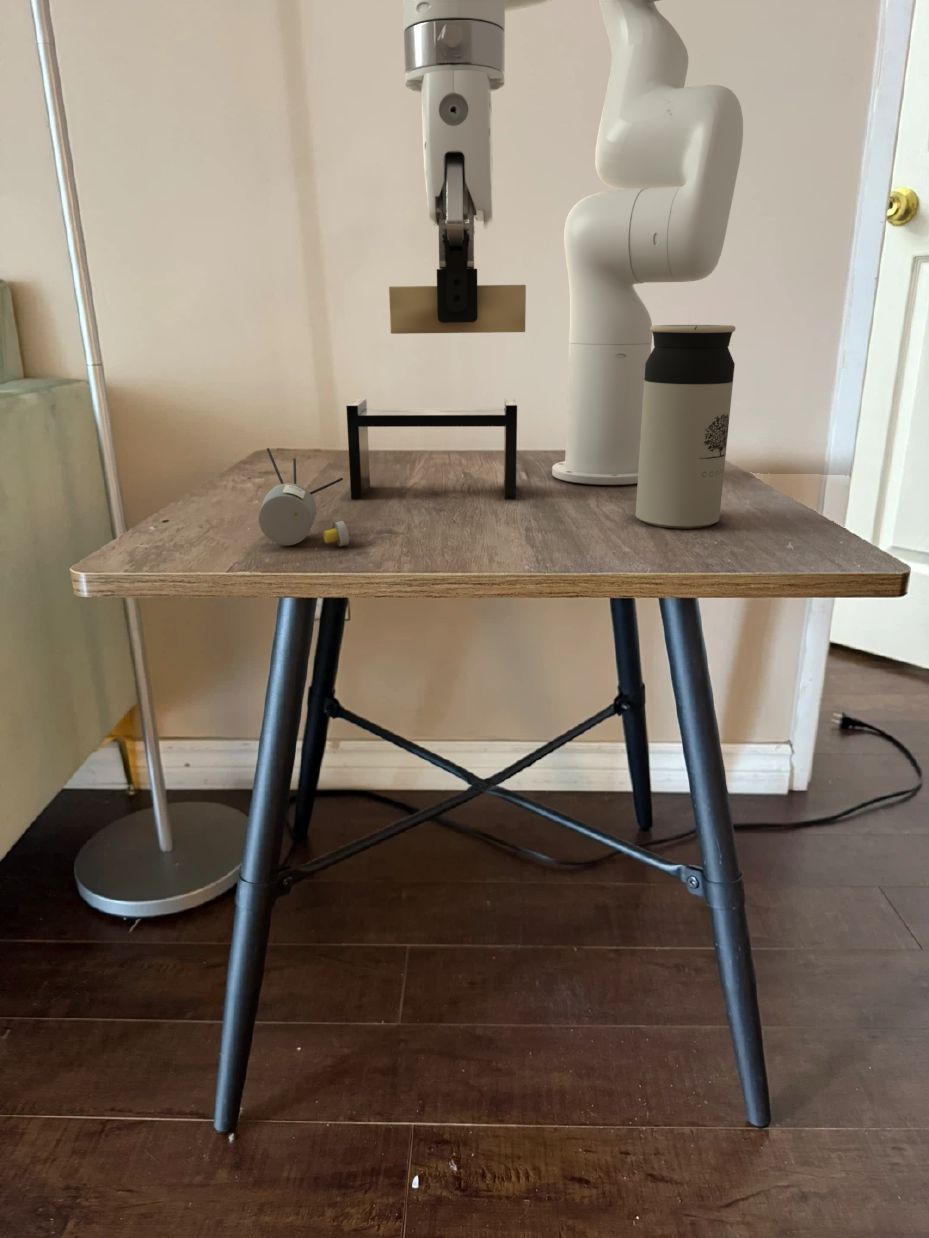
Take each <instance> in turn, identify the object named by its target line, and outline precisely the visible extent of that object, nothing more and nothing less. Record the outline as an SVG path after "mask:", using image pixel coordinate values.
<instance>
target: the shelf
mask: <svg viewBox="0 0 929 1238" xmlns="http://www.w3.org/2000/svg"><path fill="white" fill-rule="evenodd" d="M367 404H368V402H367V398H355V399H354V400H352V401H351V402H349V403H348V404H347V405H346V406H345V407H346V409H345V410H346V426H347V445H348V446H347V447H348V465H349V486H350V487H349V488H350V499H351V500H362V499H363V498H364V497H365V495H366V494H367V492H368V491H369V489H370V488H371V477H370V475H371V474H370V472H371V471H370V451H369V450H370V449H369V429H368V428H371V427H372V428H381V427H382V428H395V427H396V428H400V427H401V428H411V427H412V428H414V427H417V428H419V427H421V428H425V427H427V428H428V427H429V428H432V427H434V428H437V427H438V428H439V427H441V428H442V427H443V428H444V427H447V428H449V427H450V428H451V427H453V428H454V427H457V428H458V427H463V428H465V427H466V428H468V427H476V428H477V427H478V428H480V427H481V428H482V427H485V428H486V427H489V428H490V427H494V428H495V427H497V428H498V427H501V428H503V429H504V431H503V433H504V434H503V436H504V437H503V494H504V500H516V499H517V453H518V449H517V447H518V404H517V400H516V398H504V407H368V405H367Z"/></svg>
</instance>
